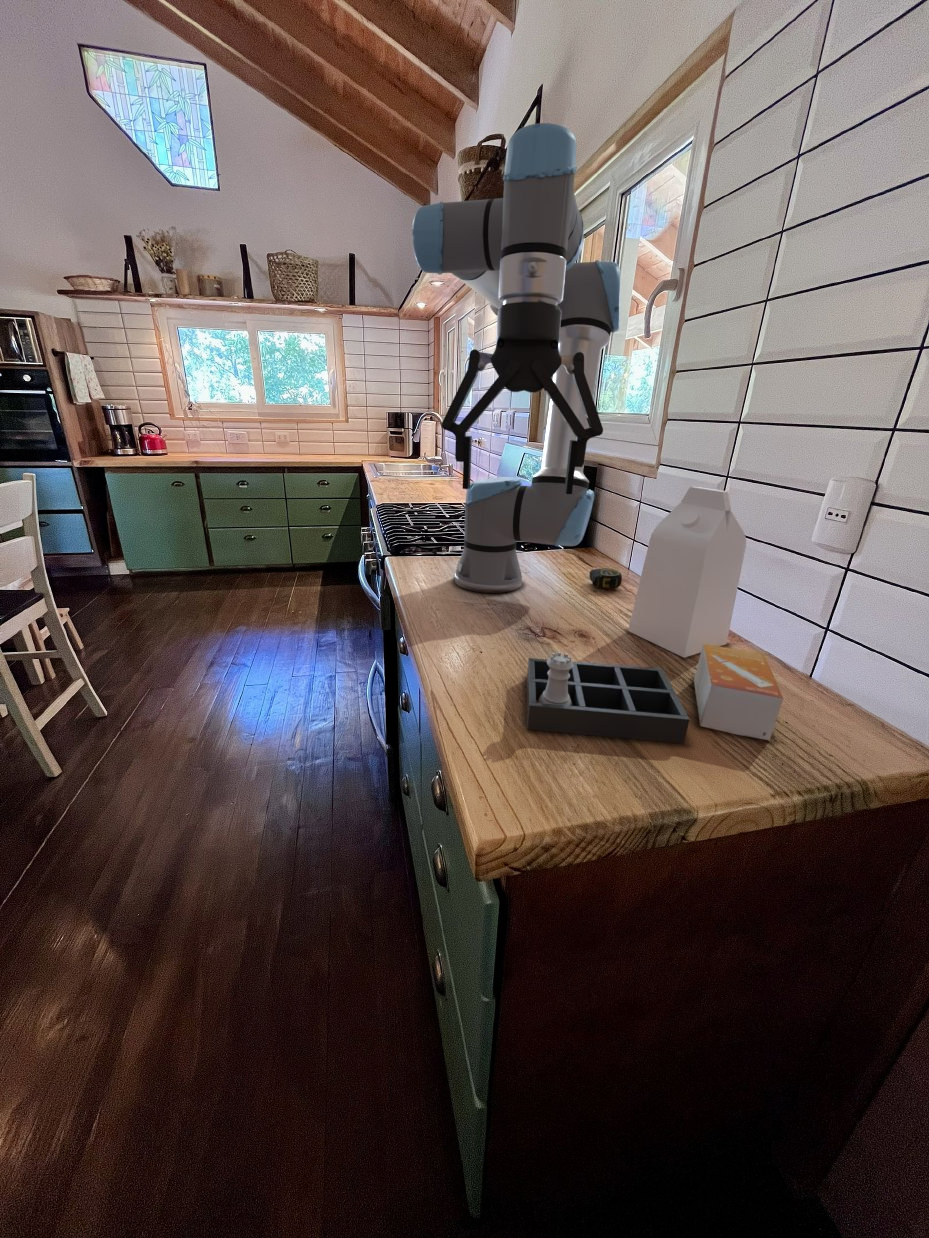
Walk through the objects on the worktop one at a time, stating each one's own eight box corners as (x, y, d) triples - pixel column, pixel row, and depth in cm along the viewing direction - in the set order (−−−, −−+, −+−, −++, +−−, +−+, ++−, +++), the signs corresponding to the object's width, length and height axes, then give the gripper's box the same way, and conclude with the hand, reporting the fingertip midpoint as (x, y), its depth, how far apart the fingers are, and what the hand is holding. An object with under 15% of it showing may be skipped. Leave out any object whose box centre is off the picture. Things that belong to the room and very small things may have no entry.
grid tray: (526, 678, 73) (528, 657, 72) (657, 689, 72) (662, 668, 70) (527, 729, 61) (529, 705, 60) (684, 744, 60) (690, 719, 58)
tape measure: (587, 581, 117) (589, 566, 116) (617, 583, 117) (619, 568, 115) (591, 591, 111) (593, 575, 110) (622, 593, 110) (625, 577, 109)
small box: (764, 652, 70) (785, 698, 58) (752, 691, 72) (770, 742, 61) (701, 642, 72) (710, 684, 61) (692, 680, 75) (699, 727, 63)
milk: (726, 644, 87) (766, 492, 77) (684, 657, 81) (721, 496, 71) (669, 620, 96) (698, 482, 86) (627, 630, 91) (653, 485, 81)
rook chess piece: (571, 724, 62) (579, 667, 59) (535, 718, 62) (541, 662, 59) (571, 705, 66) (579, 651, 63) (538, 700, 66) (543, 646, 63)
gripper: (419, 297, 56) (419, 489, 64) (646, 300, 54) (616, 499, 62) (430, 309, 63) (429, 482, 71) (632, 313, 61) (607, 490, 69)
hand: (516, 490), depth 67 cm, fingers open, 13 cm apart
